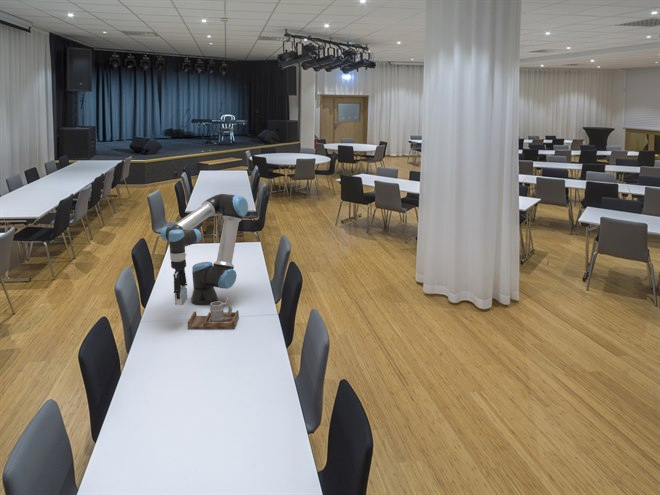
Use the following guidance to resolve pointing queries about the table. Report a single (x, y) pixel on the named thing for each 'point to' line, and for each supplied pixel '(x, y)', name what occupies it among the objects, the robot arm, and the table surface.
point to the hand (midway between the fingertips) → (181, 301)
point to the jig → (206, 323)
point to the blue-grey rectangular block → (182, 295)
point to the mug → (219, 311)
